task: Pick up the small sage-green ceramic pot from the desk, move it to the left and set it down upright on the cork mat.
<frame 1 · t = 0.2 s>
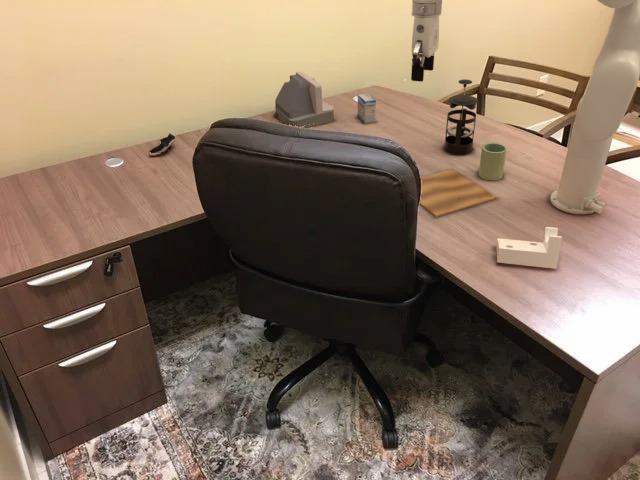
hand: (422, 75, 146), 31 cm above the table, tool pointing down, fingers open, 9 cm apart
pot: (490, 175, 162), on the table
bracket: (524, 258, 128), on the table
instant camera: (303, 118, 207), on the table
mat: (444, 192, 155), on the table
french press: (458, 149, 178), on the table
black shoe: (164, 151, 188), on the table
medicine box: (366, 119, 203), on the table
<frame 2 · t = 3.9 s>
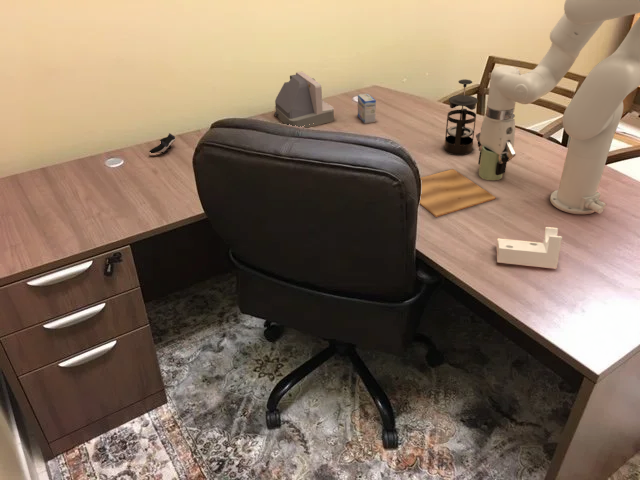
hand: (491, 168, 161), 2 cm above the table, tool pointing down, fingers closed on pot, 7 cm apart
pot: (490, 175, 162), on the table, touching gripper
everything else where it was.
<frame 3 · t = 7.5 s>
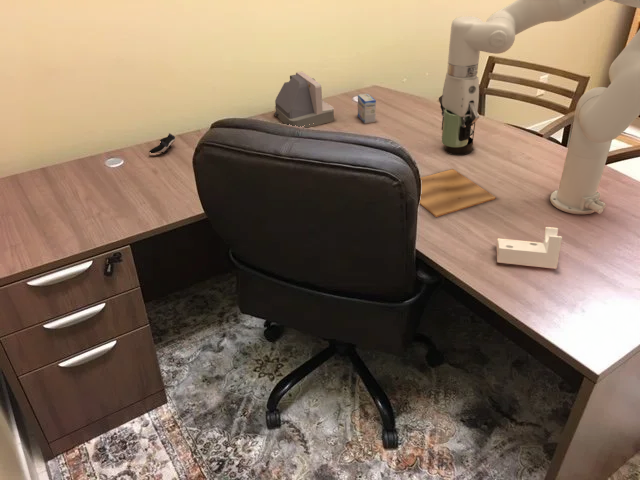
hand: (455, 134, 146), 18 cm above the table, tool pointing down, fingers closed on pot, 7 cm apart
pot: (454, 142, 147), point 15 cm above the table, touching gripper
everything else where it was.
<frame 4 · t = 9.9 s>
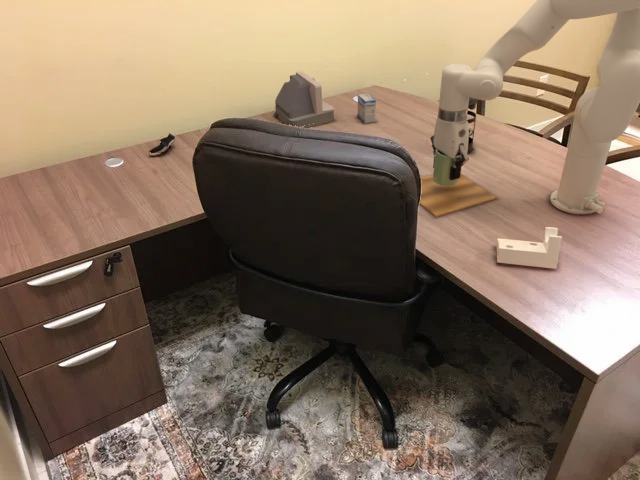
hand: (446, 172, 151), 6 cm above the table, tool pointing down, fingers closed on pot, 7 cm apart
pot: (445, 179, 153), point 4 cm above the table, touching gripper
everything else where it was.
when the fingers open (3 cm above the table, at t = 11.4 s): pot stays where it is, resting on mat.
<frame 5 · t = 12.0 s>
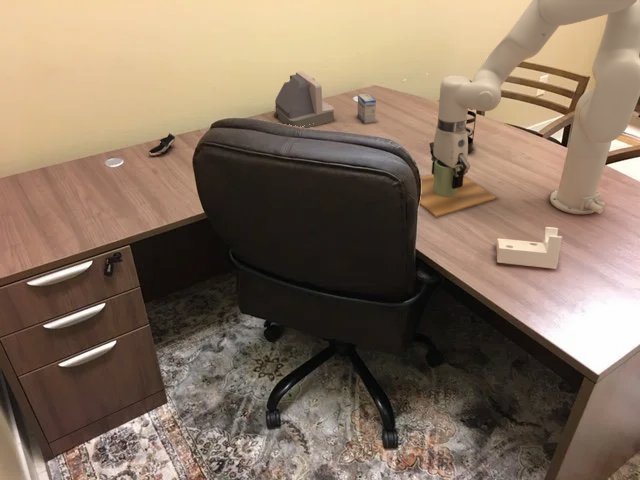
hand: (446, 180, 152), 4 cm above the table, tool pointing down, fingers open, 9 cm apart
pot: (444, 190, 154), point 1 cm above the table, touching mat
everything else where it was.
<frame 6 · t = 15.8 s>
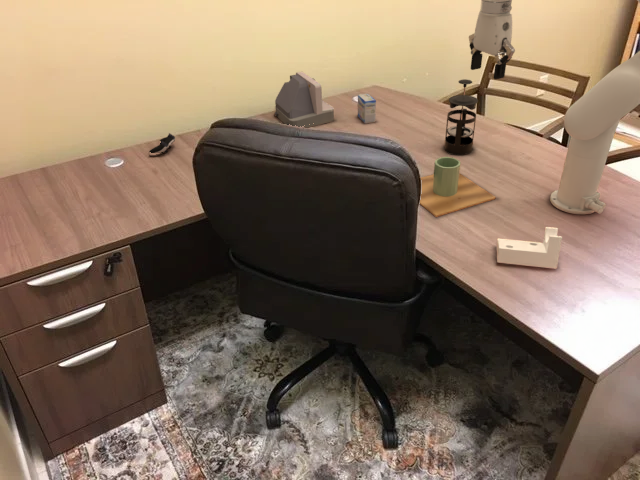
hand: (486, 73, 147), 30 cm above the table, tool pointing down, fingers open, 9 cm apart
nothing on the table moved.
at the end: pot inside the target area on the mat (0.0 cm from its centre), point 0.6 cm above the mat's base; pot tilted 0°; the gripper is holding nothing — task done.
